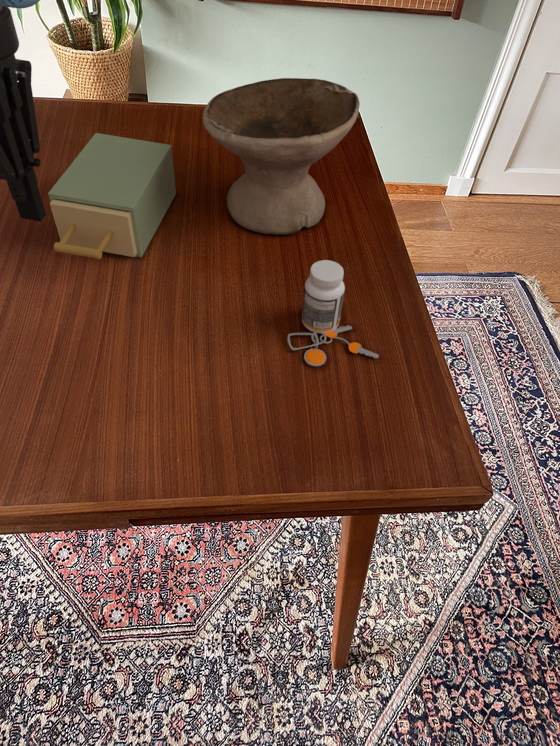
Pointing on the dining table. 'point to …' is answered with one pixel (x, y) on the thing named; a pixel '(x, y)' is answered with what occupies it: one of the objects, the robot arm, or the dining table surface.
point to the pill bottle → (323, 297)
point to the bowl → (279, 147)
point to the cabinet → (122, 181)
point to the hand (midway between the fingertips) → (33, 216)
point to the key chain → (318, 356)
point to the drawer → (92, 230)
